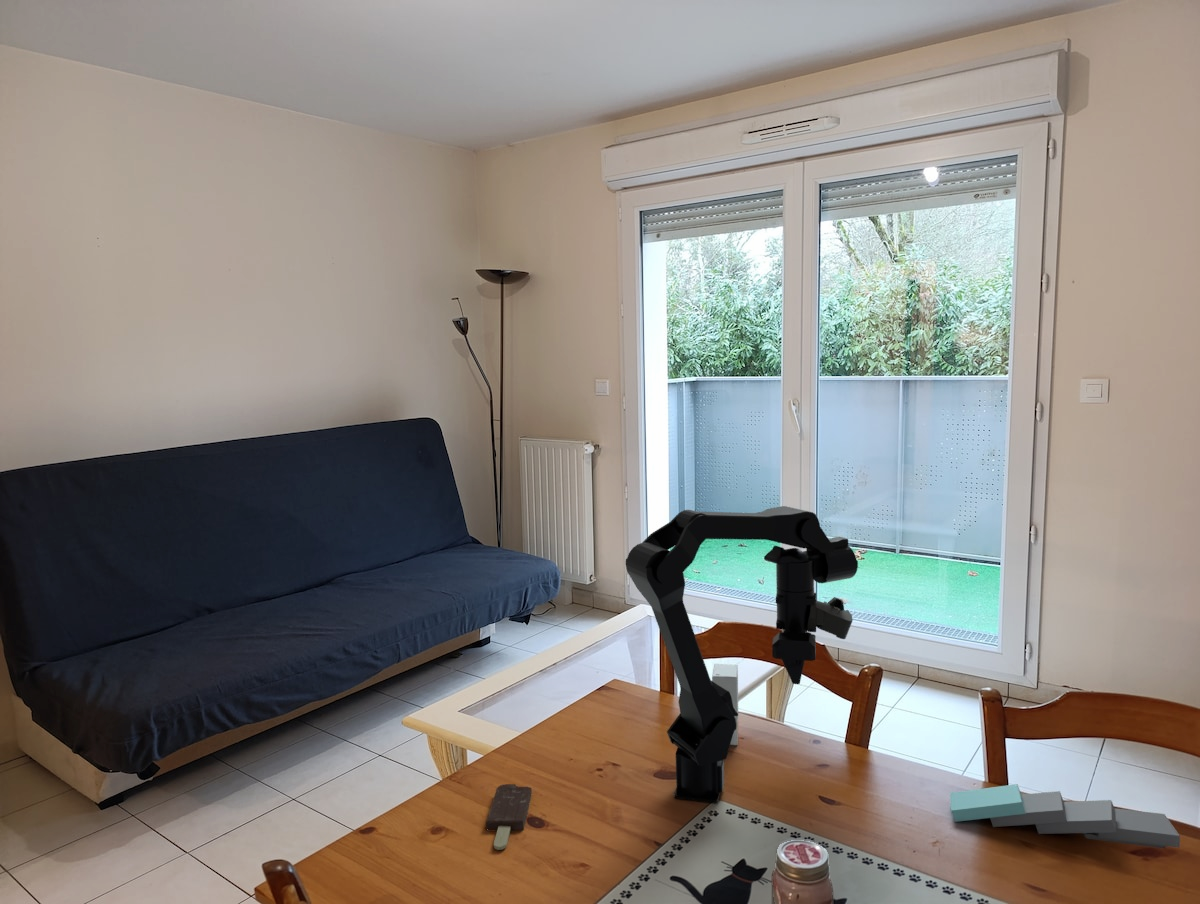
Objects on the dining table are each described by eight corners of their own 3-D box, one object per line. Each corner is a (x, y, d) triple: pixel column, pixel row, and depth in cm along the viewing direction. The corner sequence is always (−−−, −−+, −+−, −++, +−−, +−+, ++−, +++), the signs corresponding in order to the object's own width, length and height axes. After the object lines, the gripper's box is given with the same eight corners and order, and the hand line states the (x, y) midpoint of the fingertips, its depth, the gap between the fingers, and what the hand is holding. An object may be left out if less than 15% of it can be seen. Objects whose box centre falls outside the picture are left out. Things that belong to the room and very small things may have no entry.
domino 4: (1098, 825, 101) (1179, 835, 99) (1087, 805, 106) (1164, 814, 103) (1098, 837, 101) (1179, 847, 99) (1086, 816, 106) (1164, 825, 103)
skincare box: (738, 746, 131) (737, 677, 129) (712, 744, 131) (711, 676, 130) (739, 729, 136) (738, 663, 135) (714, 728, 137) (713, 662, 136)
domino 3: (1085, 833, 102) (1165, 844, 100) (1074, 813, 107) (1151, 822, 104) (1085, 845, 102) (1165, 855, 100) (1074, 824, 107) (1150, 833, 104)
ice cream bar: (518, 853, 104) (532, 793, 119) (518, 842, 104) (532, 783, 119) (479, 854, 104) (498, 794, 119) (479, 842, 104) (497, 783, 119)
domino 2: (1034, 822, 104) (1111, 820, 99) (1037, 802, 108) (1111, 799, 103) (1038, 833, 104) (1116, 832, 99) (1041, 814, 108) (1115, 811, 103)
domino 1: (989, 815, 106) (1062, 810, 101) (989, 797, 110) (1059, 791, 106) (993, 827, 106) (1067, 821, 101) (993, 808, 110) (1063, 802, 106)
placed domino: (950, 810, 107) (1021, 802, 103) (949, 792, 111) (1017, 784, 108) (954, 821, 107) (1025, 813, 103) (953, 803, 111) (1021, 795, 108)
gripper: (851, 607, 111) (851, 712, 112) (847, 574, 129) (847, 665, 130) (771, 603, 114) (772, 706, 115) (778, 571, 132) (779, 660, 133)
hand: (796, 683), depth 124 cm, fingers closed
